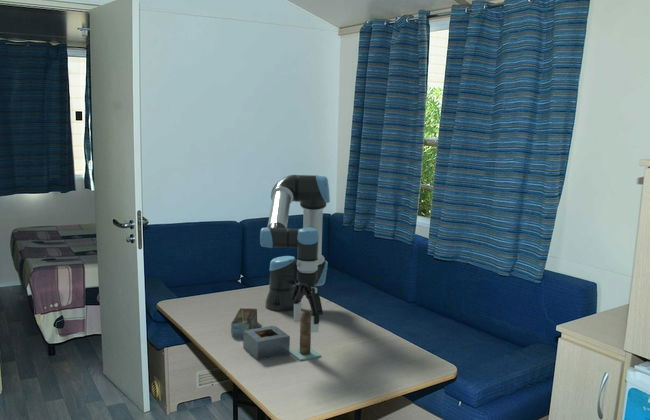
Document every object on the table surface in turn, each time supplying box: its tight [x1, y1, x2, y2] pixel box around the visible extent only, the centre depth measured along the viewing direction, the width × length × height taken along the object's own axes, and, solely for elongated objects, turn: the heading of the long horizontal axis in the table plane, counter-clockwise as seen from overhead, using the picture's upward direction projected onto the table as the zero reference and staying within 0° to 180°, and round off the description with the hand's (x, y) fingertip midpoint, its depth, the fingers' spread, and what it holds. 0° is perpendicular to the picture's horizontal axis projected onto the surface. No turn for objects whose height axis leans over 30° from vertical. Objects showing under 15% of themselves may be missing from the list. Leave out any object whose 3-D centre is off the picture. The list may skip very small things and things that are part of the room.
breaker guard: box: [242, 325, 291, 361], centre depth 225 cm, size 13×13×7 cm
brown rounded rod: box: [299, 309, 312, 355], centre depth 222 cm, size 4×4×16 cm
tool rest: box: [289, 347, 322, 362], centre depth 223 cm, size 9×9×1 cm
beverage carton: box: [230, 307, 258, 338], centre depth 248 cm, size 8×19×7 cm, turn 177°
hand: (305, 326), depth 222 cm, fingers open, 13 cm apart
